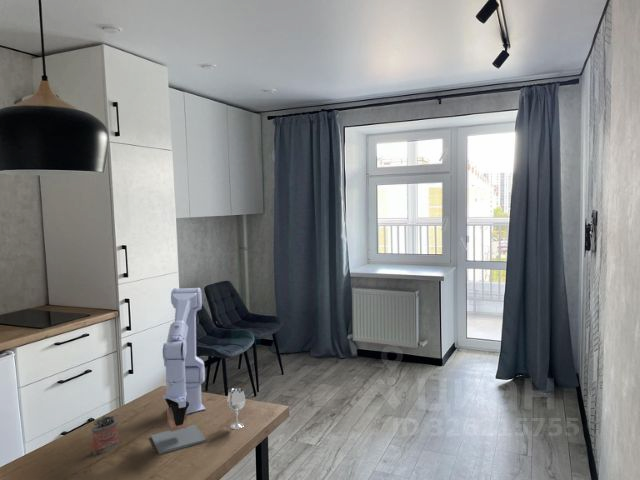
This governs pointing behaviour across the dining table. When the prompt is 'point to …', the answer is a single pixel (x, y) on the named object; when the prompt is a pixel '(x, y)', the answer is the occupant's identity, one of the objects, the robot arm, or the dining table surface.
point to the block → (171, 421)
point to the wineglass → (236, 404)
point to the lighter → (105, 434)
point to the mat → (177, 439)
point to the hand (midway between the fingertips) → (177, 422)
